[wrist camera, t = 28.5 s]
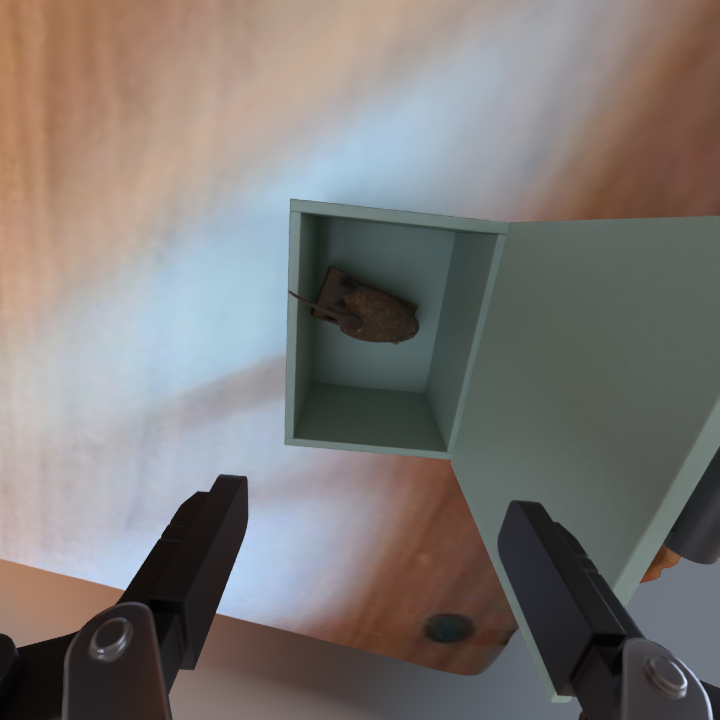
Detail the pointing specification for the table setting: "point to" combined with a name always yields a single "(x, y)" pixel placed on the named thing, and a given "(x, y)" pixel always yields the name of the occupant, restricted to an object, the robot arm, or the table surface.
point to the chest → (386, 360)
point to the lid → (600, 394)
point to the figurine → (363, 309)
